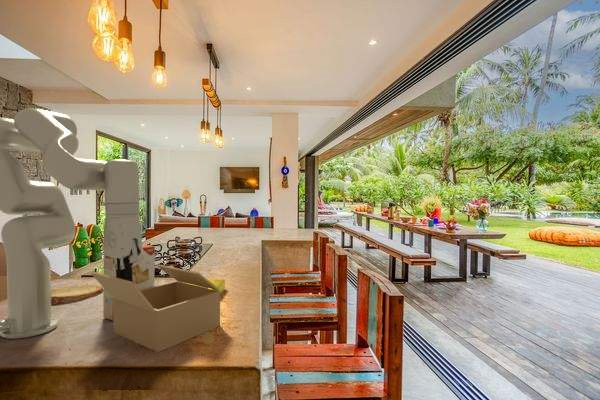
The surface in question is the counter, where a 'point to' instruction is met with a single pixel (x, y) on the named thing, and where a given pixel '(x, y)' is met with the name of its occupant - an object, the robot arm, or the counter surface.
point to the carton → (168, 315)
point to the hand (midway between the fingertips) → (124, 284)
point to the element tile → (217, 284)
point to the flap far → (188, 277)
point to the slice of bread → (74, 293)
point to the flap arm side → (123, 291)
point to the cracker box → (140, 276)
